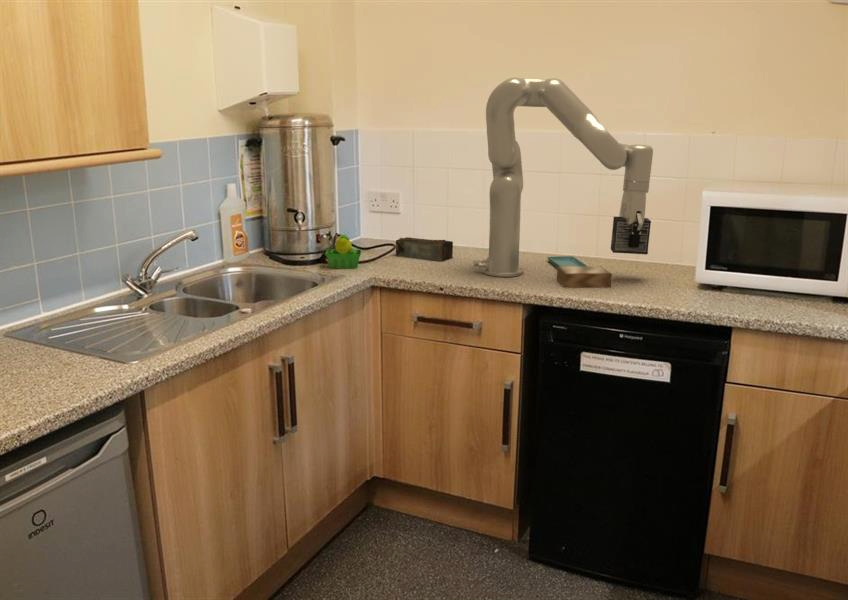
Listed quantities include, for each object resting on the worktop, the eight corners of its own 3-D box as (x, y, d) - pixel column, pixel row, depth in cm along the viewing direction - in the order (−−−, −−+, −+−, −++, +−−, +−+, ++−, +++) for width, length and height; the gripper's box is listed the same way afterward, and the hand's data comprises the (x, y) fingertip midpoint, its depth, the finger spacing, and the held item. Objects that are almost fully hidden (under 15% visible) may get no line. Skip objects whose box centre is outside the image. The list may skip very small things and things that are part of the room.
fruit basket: (361, 264, 264) (361, 230, 262) (360, 270, 256) (360, 235, 253) (327, 264, 264) (326, 230, 261) (325, 270, 256) (324, 235, 253)
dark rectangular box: (406, 252, 285) (406, 234, 283) (454, 258, 276) (454, 239, 274) (394, 256, 278) (394, 238, 276) (443, 262, 269) (443, 243, 267)
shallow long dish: (546, 262, 271) (546, 255, 271) (572, 262, 272) (572, 254, 272) (568, 279, 246) (568, 272, 245) (596, 279, 247) (597, 271, 246)
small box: (644, 250, 246) (648, 217, 244) (648, 255, 240) (652, 220, 237) (609, 248, 247) (613, 215, 244) (612, 252, 241) (616, 218, 238)
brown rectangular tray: (564, 287, 234) (565, 273, 233) (556, 279, 244) (557, 266, 243) (610, 287, 235) (611, 272, 234) (601, 279, 245) (602, 265, 244)
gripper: (615, 182, 246) (609, 239, 251) (633, 190, 230) (626, 250, 234) (638, 183, 247) (632, 239, 252) (658, 190, 230) (651, 251, 235)
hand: (629, 244), depth 243 cm, fingers closed on small box, 6 cm apart
